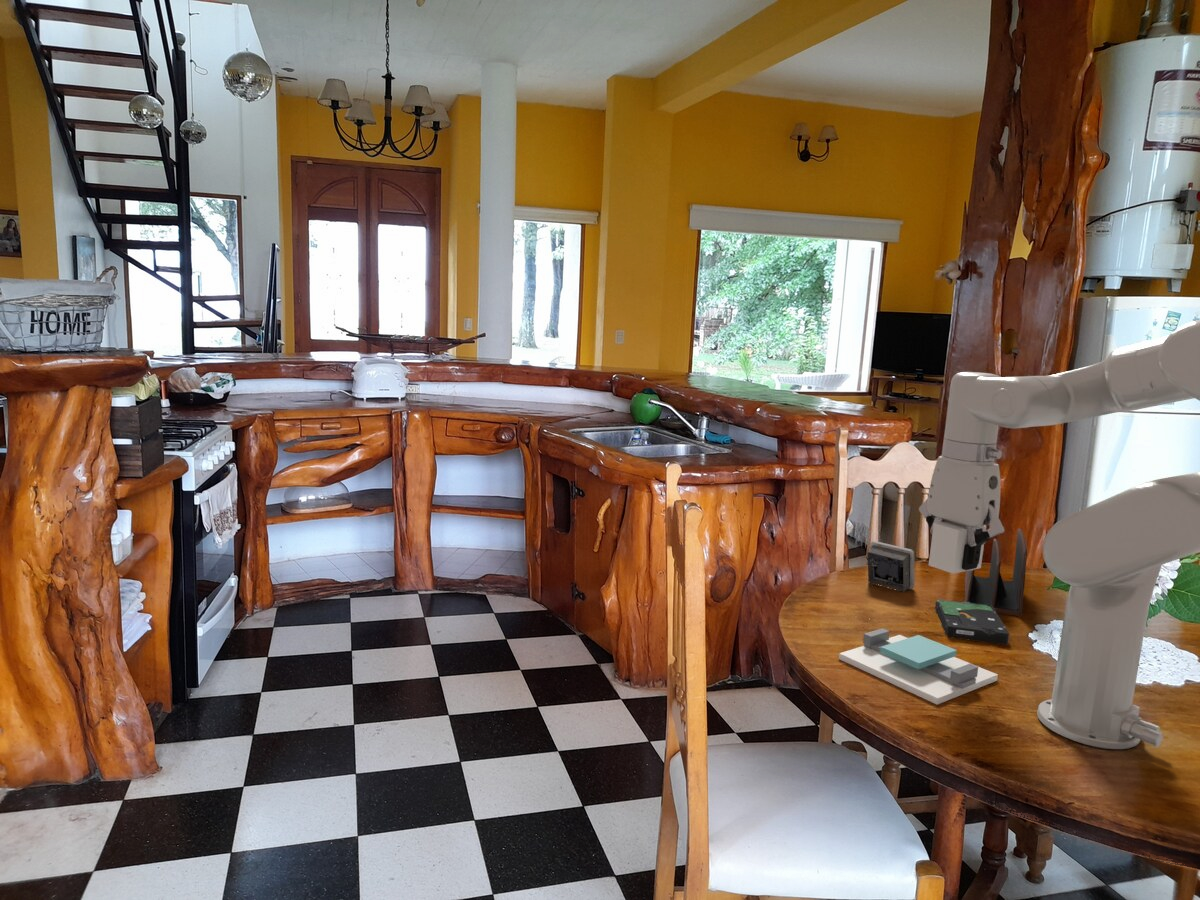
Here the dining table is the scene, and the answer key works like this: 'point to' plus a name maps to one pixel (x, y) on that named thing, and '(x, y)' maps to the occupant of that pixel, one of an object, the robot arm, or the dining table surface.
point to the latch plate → (918, 651)
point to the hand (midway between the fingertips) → (954, 562)
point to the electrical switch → (891, 566)
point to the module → (950, 547)
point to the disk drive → (971, 621)
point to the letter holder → (1000, 582)
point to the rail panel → (917, 670)
